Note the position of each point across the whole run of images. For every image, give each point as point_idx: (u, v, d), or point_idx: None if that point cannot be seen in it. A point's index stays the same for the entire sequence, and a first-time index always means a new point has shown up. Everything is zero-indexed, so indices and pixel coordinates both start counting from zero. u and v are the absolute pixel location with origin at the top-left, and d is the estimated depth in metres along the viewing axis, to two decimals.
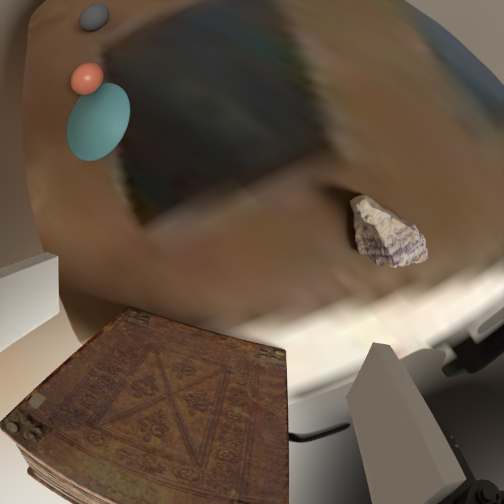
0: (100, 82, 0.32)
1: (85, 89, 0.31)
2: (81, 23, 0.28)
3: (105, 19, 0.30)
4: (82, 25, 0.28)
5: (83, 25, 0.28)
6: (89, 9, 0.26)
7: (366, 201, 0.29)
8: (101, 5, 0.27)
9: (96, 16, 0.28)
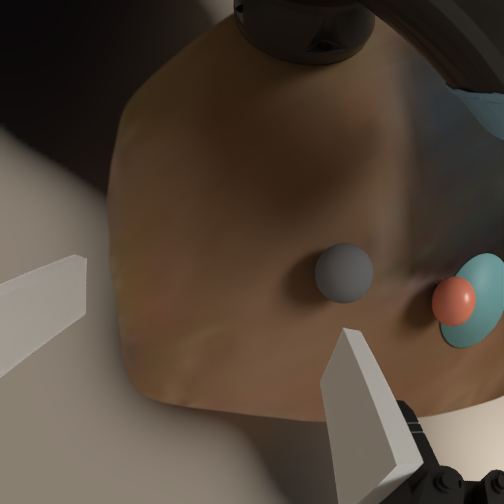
0: None
1: None
2: (358, 298, 0.24)
3: None
4: (360, 297, 0.24)
5: None
6: (352, 275, 0.22)
7: None
8: (345, 251, 0.23)
9: (370, 264, 0.23)
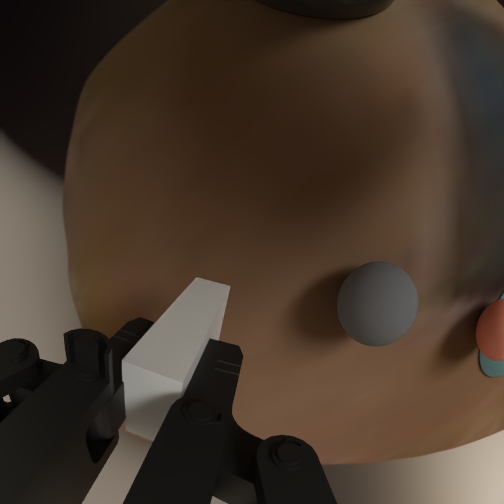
0: None
1: None
2: (396, 339, 0.16)
3: None
4: None
5: None
6: (394, 312, 0.14)
7: None
8: (383, 275, 0.15)
9: (416, 293, 0.15)
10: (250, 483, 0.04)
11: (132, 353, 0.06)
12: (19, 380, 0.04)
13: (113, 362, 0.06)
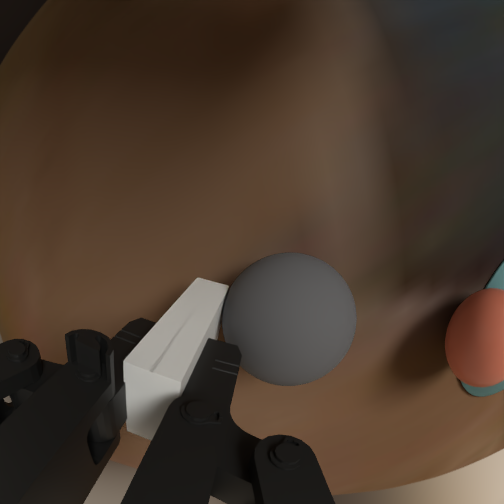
0: None
1: None
2: None
3: None
4: None
5: None
6: (335, 343, 0.09)
7: None
8: (304, 288, 0.09)
9: (351, 294, 0.11)
10: (248, 483, 0.04)
11: (133, 353, 0.06)
12: (20, 381, 0.04)
13: (114, 363, 0.06)
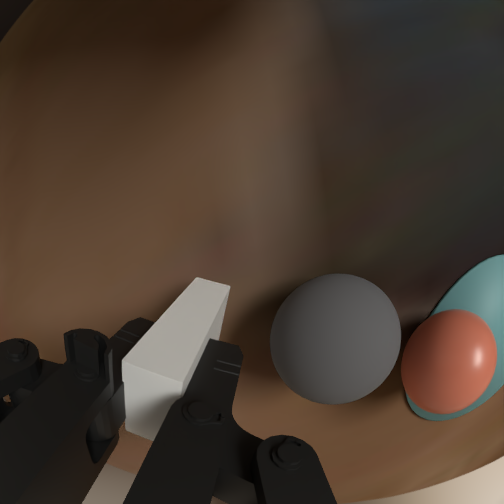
0: None
1: None
2: None
3: (308, 281, 0.12)
4: None
5: None
6: None
7: None
8: None
9: None
10: (250, 483, 0.04)
11: (132, 353, 0.06)
12: (19, 380, 0.04)
13: (113, 362, 0.06)
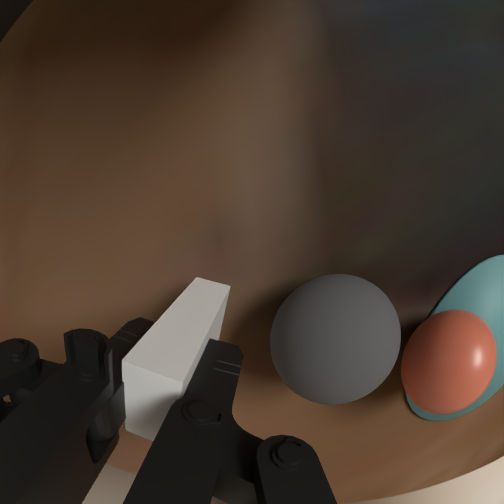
0: None
1: None
2: None
3: (308, 281, 0.12)
4: None
5: None
6: None
7: None
8: None
9: None
10: (250, 483, 0.04)
11: (132, 353, 0.06)
12: (19, 380, 0.04)
13: (113, 362, 0.06)
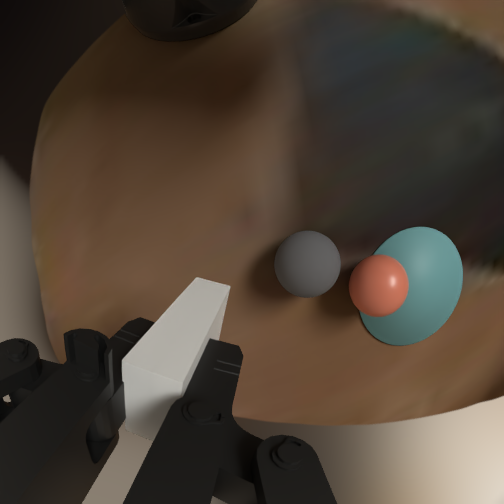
0: None
1: None
2: None
3: None
4: None
5: None
6: None
7: None
8: None
9: None
10: (250, 483, 0.04)
11: (132, 353, 0.06)
12: (19, 380, 0.04)
13: (113, 362, 0.06)
